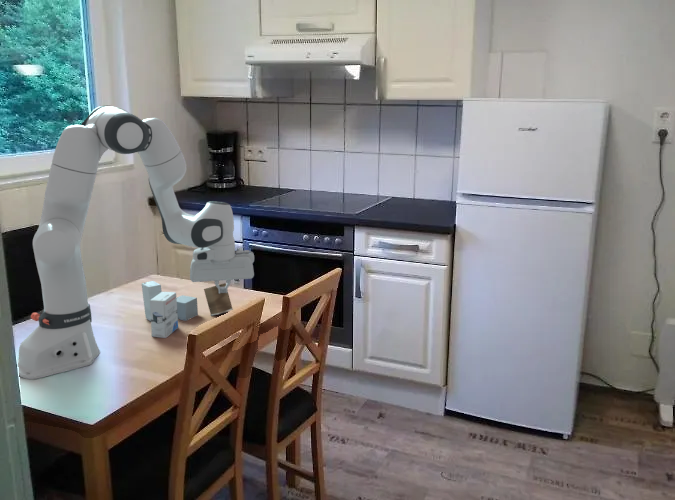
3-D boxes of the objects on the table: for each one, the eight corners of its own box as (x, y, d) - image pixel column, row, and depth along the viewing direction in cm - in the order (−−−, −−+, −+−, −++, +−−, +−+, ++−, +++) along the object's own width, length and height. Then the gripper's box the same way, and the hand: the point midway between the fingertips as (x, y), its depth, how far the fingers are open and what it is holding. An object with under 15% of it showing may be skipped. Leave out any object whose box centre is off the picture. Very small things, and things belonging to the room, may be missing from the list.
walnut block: (218, 314, 203) (210, 287, 203) (211, 315, 206) (203, 289, 205) (232, 309, 207) (225, 283, 207) (225, 310, 210) (218, 284, 210)
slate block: (186, 321, 201) (184, 303, 200) (171, 318, 204) (170, 300, 202) (197, 315, 206) (196, 297, 205) (183, 312, 209) (182, 295, 207)
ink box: (164, 326, 196) (161, 290, 193) (179, 327, 195) (177, 291, 192) (151, 337, 188) (148, 299, 185) (167, 338, 187) (164, 300, 184)
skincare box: (165, 320, 201) (162, 284, 198) (152, 323, 199) (148, 287, 196) (157, 315, 206) (154, 279, 203) (144, 318, 203) (141, 282, 200)
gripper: (253, 247, 205) (254, 287, 209) (188, 250, 201) (191, 291, 205) (254, 252, 199) (256, 293, 203) (188, 255, 195) (191, 297, 199)
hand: (223, 292), depth 204 cm, fingers closed
